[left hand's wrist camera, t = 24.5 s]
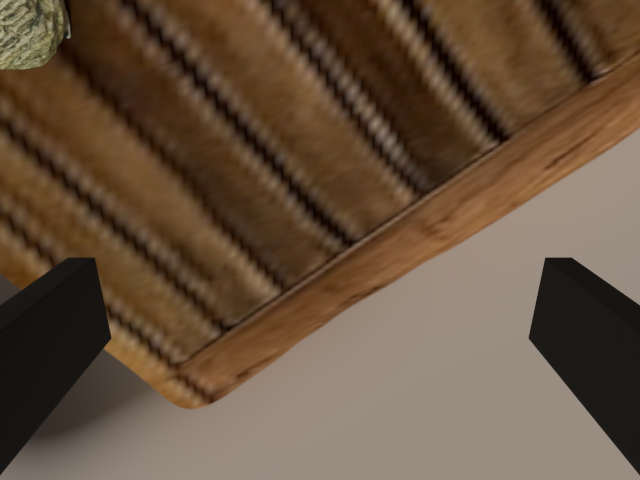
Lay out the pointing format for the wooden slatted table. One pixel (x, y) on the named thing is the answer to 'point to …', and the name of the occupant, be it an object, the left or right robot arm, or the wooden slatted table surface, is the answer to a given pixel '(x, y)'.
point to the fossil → (31, 32)
